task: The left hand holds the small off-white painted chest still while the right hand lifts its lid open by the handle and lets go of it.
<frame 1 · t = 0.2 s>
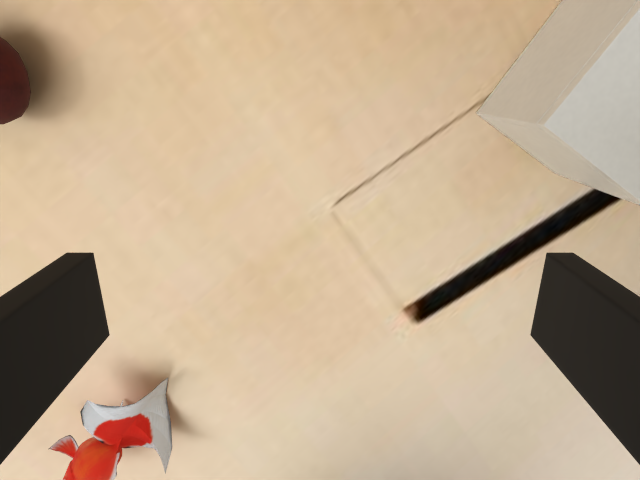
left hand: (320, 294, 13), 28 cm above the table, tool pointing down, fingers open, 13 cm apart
fish: (130, 408, 49), on the table
chest: (577, 69, 36), on the table
dark maroon ball: (7, 77, 37), on the table
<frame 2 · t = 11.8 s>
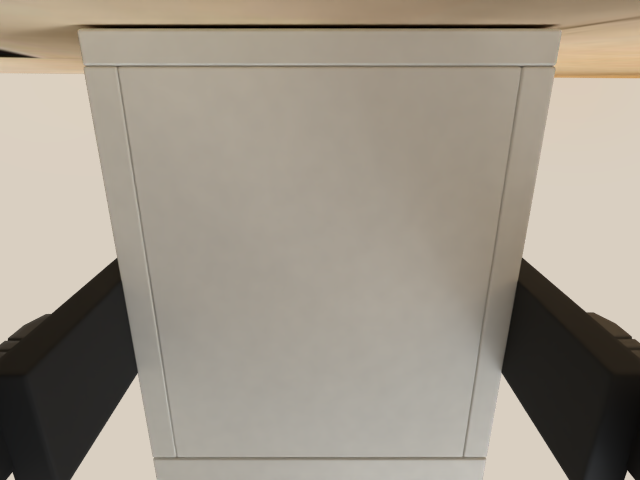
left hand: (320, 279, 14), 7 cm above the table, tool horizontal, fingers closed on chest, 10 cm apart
lid: (319, 390, 21), point 16 cm above the table, hinge at 0.0°
chest: (319, 53, 16), on the table, touching left hand
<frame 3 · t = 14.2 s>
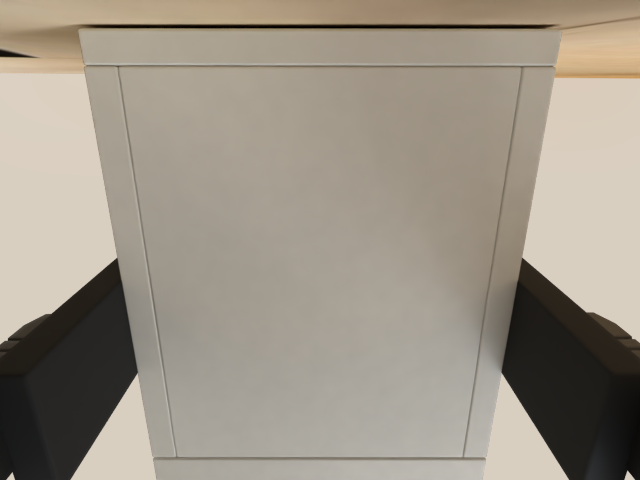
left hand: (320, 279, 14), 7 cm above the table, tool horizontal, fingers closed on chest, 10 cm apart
lid: (319, 392, 21), point 16 cm above the table, hinge at 0.3°, touching right hand
chest: (320, 53, 16), on the table, touching left hand
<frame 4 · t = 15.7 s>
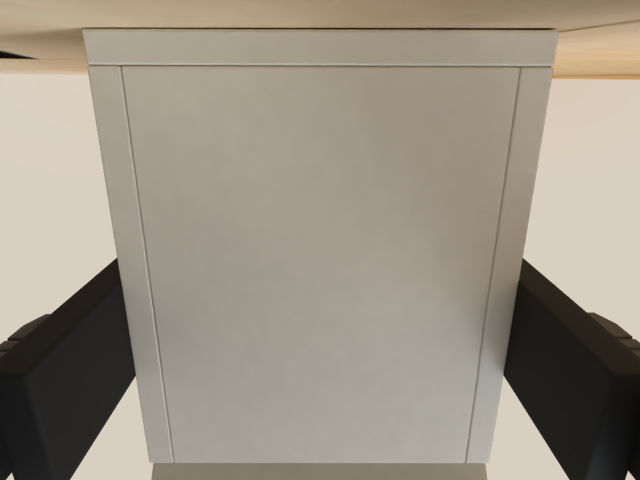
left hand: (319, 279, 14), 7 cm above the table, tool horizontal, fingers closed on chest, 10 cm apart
chest: (320, 61, 16), on the table, touching left hand
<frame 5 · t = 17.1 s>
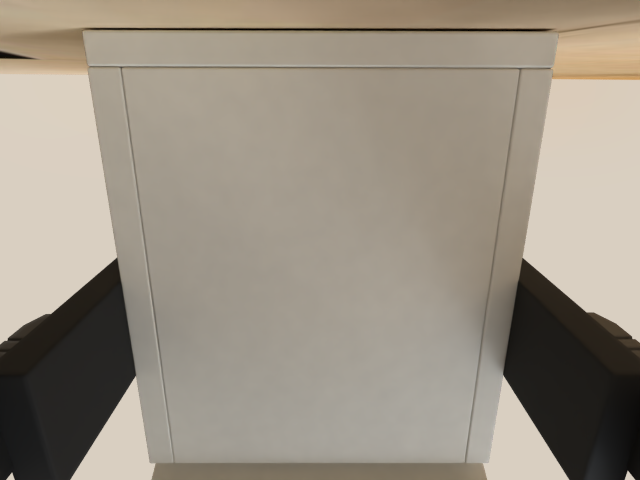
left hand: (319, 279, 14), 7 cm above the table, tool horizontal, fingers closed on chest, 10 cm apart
chest: (320, 61, 16), on the table, touching left hand
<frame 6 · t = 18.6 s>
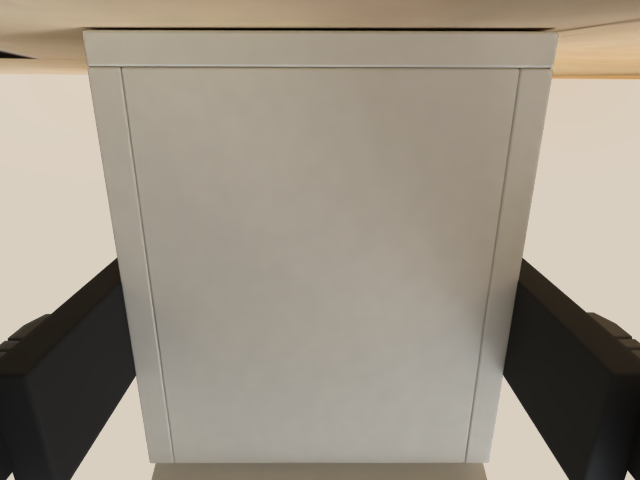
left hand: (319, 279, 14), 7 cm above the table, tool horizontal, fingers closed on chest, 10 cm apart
chest: (319, 61, 16), on the table, touching left hand
when the left hand's fingers open (7 cm above the table, at t = 21.2 s): chest stays where it is, on the table.
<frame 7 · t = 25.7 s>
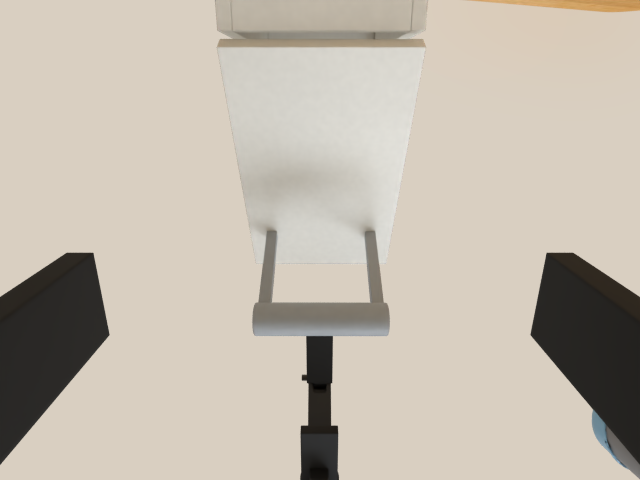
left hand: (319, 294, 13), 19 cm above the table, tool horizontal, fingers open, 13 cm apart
lid: (321, 220, 23), point 21 cm above the table, hinge at 62.0°
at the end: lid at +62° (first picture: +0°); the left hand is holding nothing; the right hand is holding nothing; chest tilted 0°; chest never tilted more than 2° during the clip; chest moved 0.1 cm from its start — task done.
